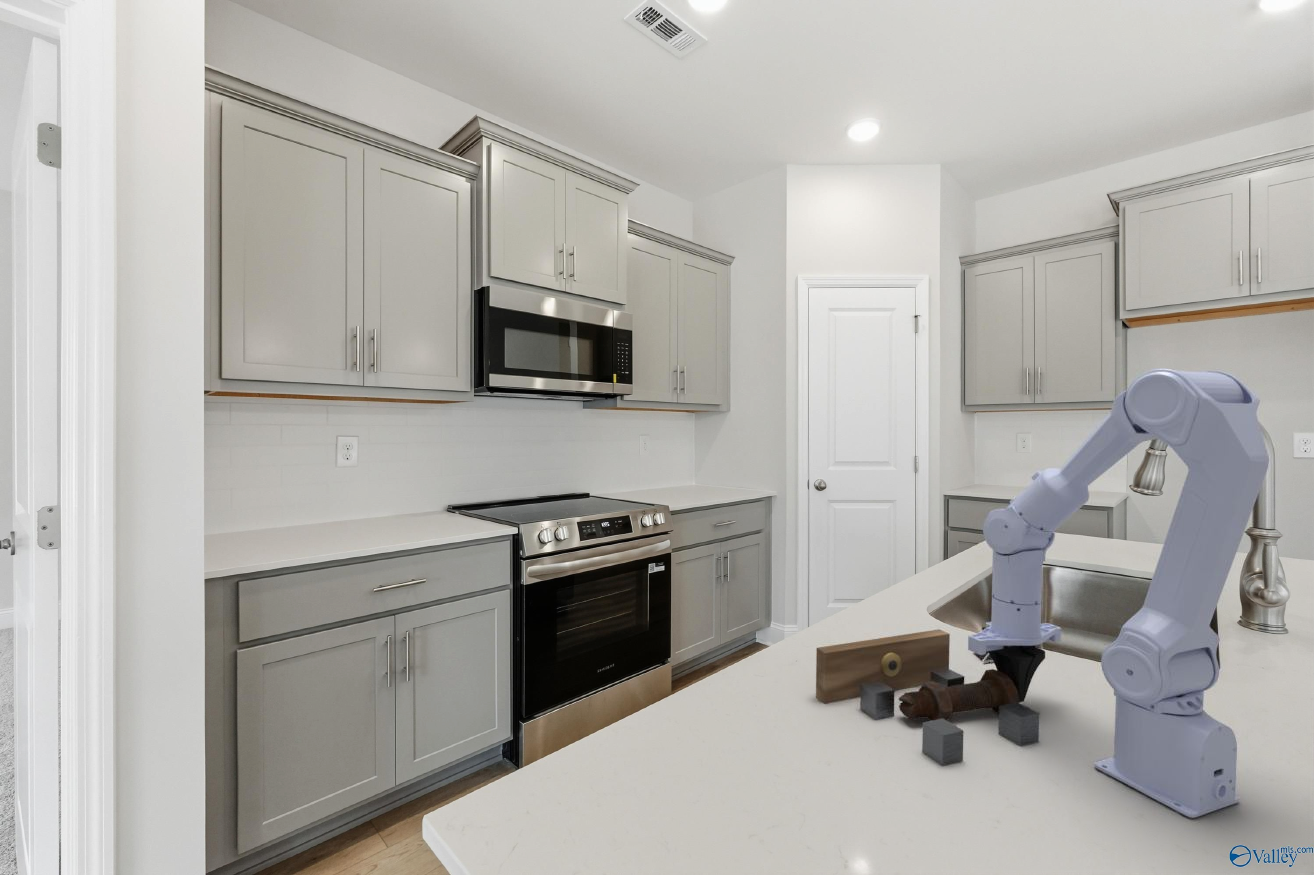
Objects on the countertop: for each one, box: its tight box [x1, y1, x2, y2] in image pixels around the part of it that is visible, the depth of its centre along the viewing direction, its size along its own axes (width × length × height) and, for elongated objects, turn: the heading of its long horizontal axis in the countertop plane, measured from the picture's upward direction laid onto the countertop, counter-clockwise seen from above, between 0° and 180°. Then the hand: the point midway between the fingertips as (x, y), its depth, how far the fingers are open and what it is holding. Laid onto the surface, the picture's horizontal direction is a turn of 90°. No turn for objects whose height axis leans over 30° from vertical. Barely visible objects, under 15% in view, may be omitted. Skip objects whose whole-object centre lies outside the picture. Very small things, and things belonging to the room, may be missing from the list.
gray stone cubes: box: [859, 668, 1040, 767], centre depth 77 cm, size 14×15×4 cm
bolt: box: [898, 668, 1020, 722], centre depth 79 cm, size 6×5×15 cm
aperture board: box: [815, 629, 951, 705], centre depth 87 cm, size 3×22×7 cm, turn 110°
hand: (1013, 699), depth 81 cm, fingers closed
